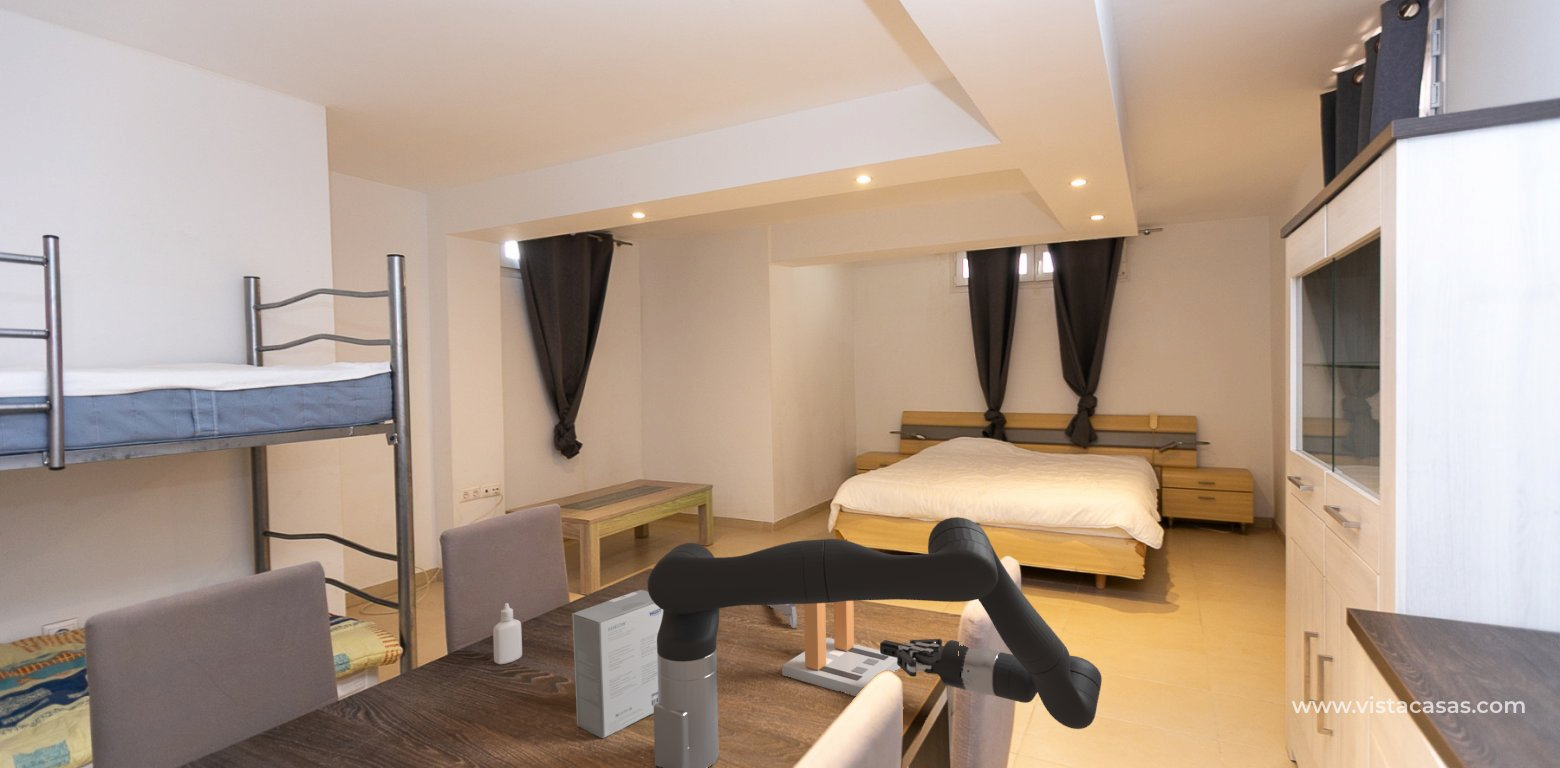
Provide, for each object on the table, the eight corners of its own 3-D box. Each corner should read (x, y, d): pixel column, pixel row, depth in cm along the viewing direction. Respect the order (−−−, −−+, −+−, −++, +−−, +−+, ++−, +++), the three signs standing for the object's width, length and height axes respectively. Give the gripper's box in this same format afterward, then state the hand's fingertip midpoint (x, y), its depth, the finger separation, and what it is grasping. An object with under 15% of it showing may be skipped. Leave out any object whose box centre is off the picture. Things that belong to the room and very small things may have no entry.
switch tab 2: (846, 651, 148) (845, 583, 148) (834, 648, 150) (833, 581, 150) (854, 646, 151) (853, 580, 150) (841, 643, 152) (840, 577, 152)
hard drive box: (645, 693, 136) (642, 588, 135) (672, 705, 131) (670, 596, 130) (574, 726, 124) (571, 611, 123) (602, 740, 119) (599, 621, 118)
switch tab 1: (818, 670, 139) (817, 598, 139) (805, 666, 141) (804, 595, 141) (826, 664, 142) (825, 594, 141) (813, 661, 144) (812, 591, 143)
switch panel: (862, 698, 132) (862, 687, 132) (782, 675, 143) (782, 664, 142) (903, 665, 146) (903, 655, 146) (827, 646, 156) (827, 637, 156)
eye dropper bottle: (493, 658, 153) (492, 602, 153) (521, 653, 156) (520, 598, 155) (494, 666, 149) (492, 608, 149) (523, 661, 151) (521, 604, 151)
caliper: (797, 629, 167) (796, 603, 167) (792, 630, 167) (792, 603, 167) (767, 602, 186) (767, 578, 186) (763, 603, 186) (763, 579, 186)
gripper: (986, 633, 128) (897, 615, 138) (958, 659, 117) (864, 638, 127) (986, 675, 128) (898, 654, 138) (958, 705, 118) (864, 680, 128)
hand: (881, 646), depth 133 cm, fingers closed
